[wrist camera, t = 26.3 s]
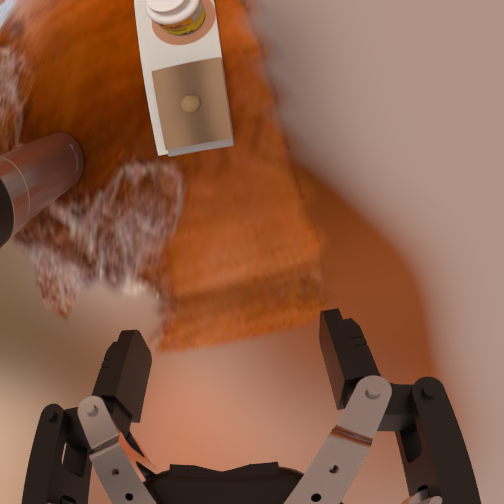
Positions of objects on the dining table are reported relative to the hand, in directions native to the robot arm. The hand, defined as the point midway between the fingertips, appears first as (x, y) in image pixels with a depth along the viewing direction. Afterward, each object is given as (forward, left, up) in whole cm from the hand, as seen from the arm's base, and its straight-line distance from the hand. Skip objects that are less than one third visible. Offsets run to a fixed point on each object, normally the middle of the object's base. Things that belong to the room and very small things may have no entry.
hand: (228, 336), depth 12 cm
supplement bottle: (-3, +21, -29) cm, 36 cm away
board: (-4, +15, -30) cm, 34 cm away
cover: (-3, +9, -28) cm, 30 cm away
